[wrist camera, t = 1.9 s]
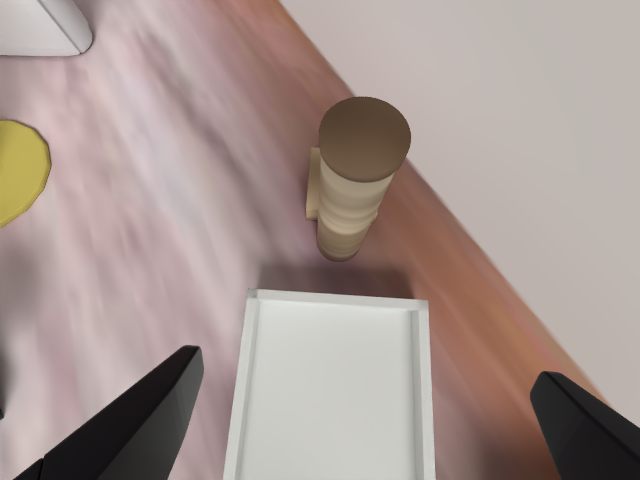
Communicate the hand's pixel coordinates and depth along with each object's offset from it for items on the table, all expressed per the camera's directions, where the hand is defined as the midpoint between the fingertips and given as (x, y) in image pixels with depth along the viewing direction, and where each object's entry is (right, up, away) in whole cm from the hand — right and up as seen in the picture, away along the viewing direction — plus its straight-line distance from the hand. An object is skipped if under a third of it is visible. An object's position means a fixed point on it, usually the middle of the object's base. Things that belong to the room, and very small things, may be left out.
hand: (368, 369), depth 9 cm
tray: (-1, -7, +12) cm, 14 cm away
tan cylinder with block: (0, +6, +16) cm, 17 cm away
